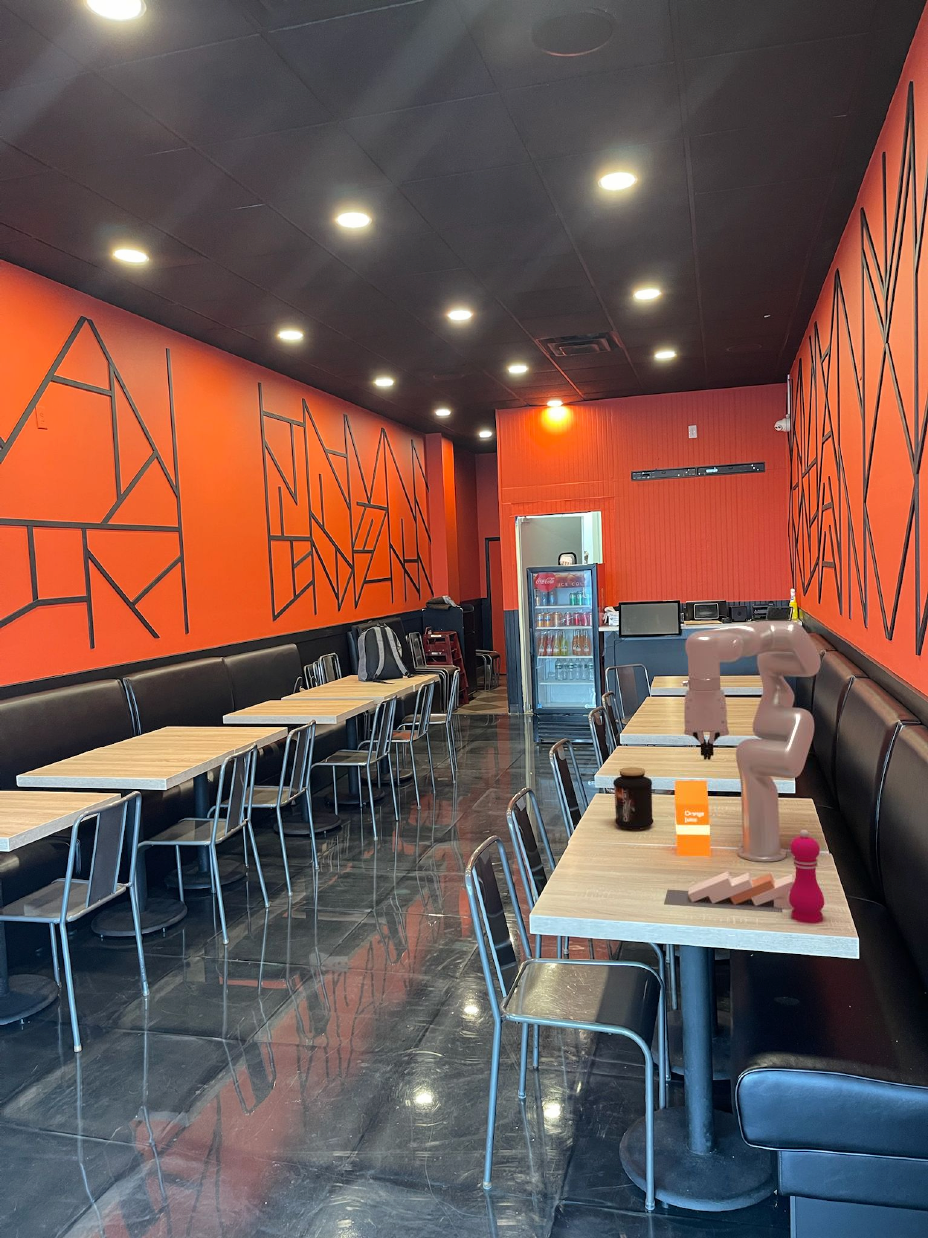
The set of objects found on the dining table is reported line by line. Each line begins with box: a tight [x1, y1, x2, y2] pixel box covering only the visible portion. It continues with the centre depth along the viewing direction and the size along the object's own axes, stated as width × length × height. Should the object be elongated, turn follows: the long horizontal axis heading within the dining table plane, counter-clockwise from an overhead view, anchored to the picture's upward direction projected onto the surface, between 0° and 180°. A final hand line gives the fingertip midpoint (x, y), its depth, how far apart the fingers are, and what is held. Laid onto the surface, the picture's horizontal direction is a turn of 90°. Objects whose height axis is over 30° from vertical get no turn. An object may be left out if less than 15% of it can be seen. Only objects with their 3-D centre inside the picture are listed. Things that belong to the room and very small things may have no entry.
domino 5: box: [773, 893, 823, 912], centre depth 198 cm, size 2×5×10 cm
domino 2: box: [709, 872, 754, 904], centre depth 203 cm, size 2×5×10 cm
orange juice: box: [674, 780, 711, 857], centre depth 242 cm, size 8×9×20 cm
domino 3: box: [730, 872, 775, 905], centre depth 201 cm, size 2×5×10 cm
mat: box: [663, 889, 784, 913], centre depth 203 cm, size 10×26×1 cm, turn 72°
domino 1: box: [688, 871, 733, 902], centre depth 204 cm, size 2×5×10 cm
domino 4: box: [751, 873, 795, 906], centre depth 200 cm, size 2×5×10 cm
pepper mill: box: [789, 829, 825, 924], centre depth 191 cm, size 7×7×20 cm
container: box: [612, 766, 654, 831], centre depth 269 cm, size 12×12×18 cm
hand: (707, 758), depth 216 cm, fingers closed
